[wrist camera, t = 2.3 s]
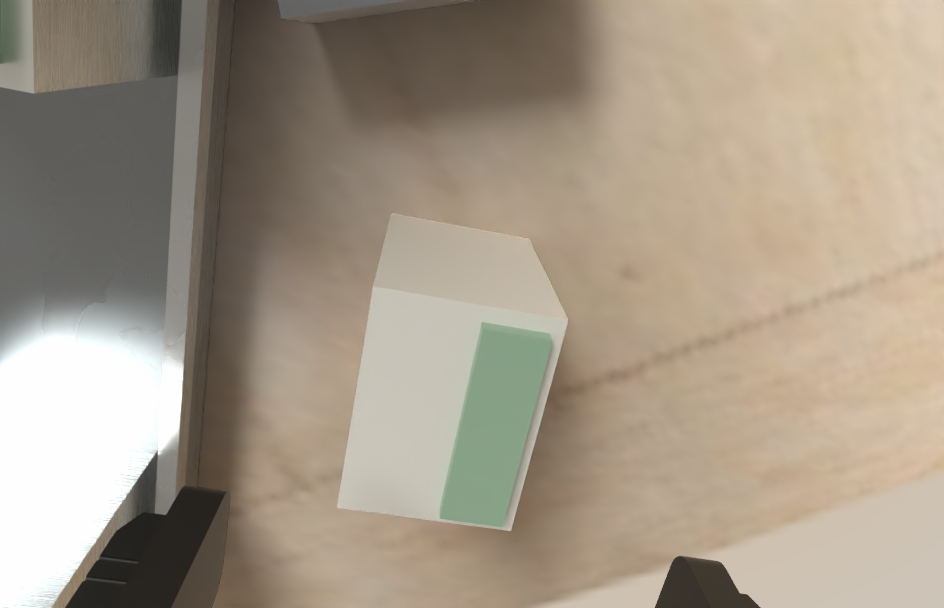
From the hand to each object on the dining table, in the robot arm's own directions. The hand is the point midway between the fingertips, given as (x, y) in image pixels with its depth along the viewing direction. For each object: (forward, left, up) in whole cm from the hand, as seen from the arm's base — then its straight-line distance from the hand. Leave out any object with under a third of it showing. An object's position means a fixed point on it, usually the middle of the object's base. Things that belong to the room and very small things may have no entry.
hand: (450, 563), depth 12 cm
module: (0, 0, -12) cm, 12 cm away
